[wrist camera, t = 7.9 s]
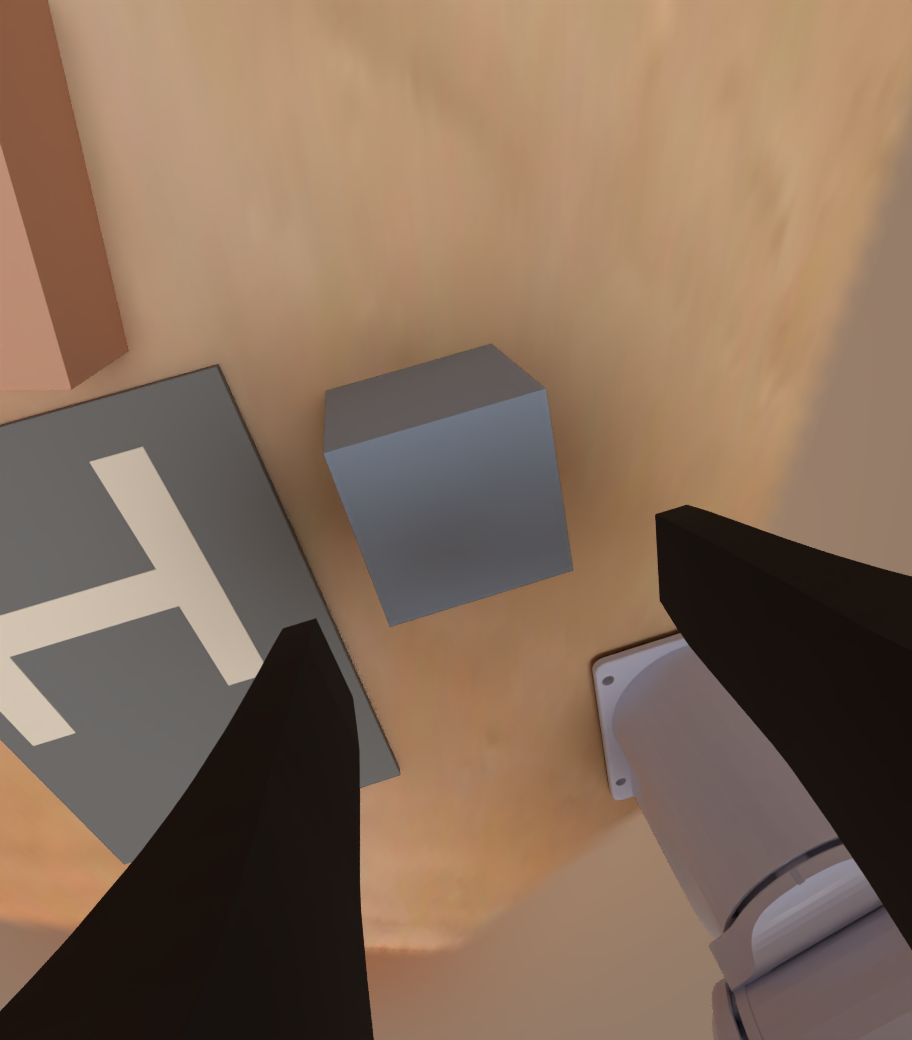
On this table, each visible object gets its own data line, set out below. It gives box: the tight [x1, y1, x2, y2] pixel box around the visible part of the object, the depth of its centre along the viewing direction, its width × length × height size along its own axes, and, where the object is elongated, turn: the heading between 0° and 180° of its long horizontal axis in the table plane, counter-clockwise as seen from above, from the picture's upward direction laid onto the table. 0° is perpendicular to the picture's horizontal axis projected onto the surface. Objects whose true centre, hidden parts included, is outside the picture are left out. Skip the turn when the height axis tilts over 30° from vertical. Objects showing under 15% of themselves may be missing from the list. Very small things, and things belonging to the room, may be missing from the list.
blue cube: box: [323, 344, 573, 627], centre depth 16 cm, size 5×5×5 cm
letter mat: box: [0, 364, 400, 864], centre depth 19 cm, size 18×12×1 cm, turn 13°
